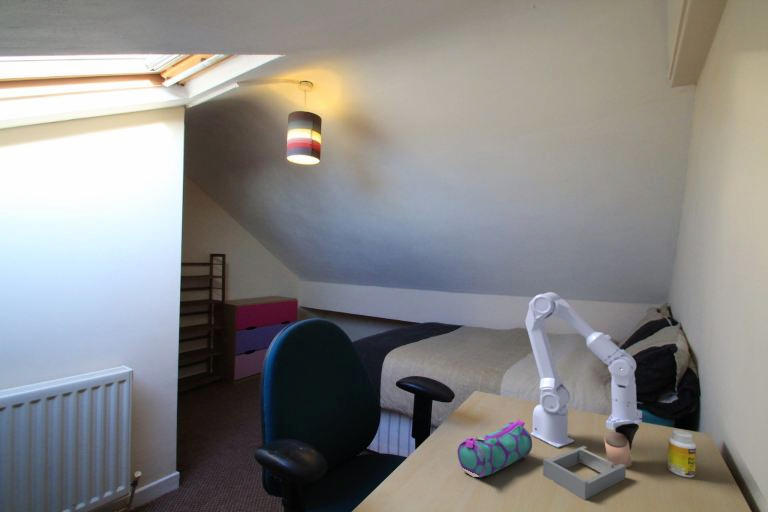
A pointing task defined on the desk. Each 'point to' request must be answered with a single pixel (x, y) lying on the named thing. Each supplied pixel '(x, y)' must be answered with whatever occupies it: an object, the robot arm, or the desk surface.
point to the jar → (618, 449)
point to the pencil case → (495, 449)
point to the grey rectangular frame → (576, 484)
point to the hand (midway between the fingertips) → (625, 449)
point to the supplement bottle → (682, 454)
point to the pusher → (594, 461)
